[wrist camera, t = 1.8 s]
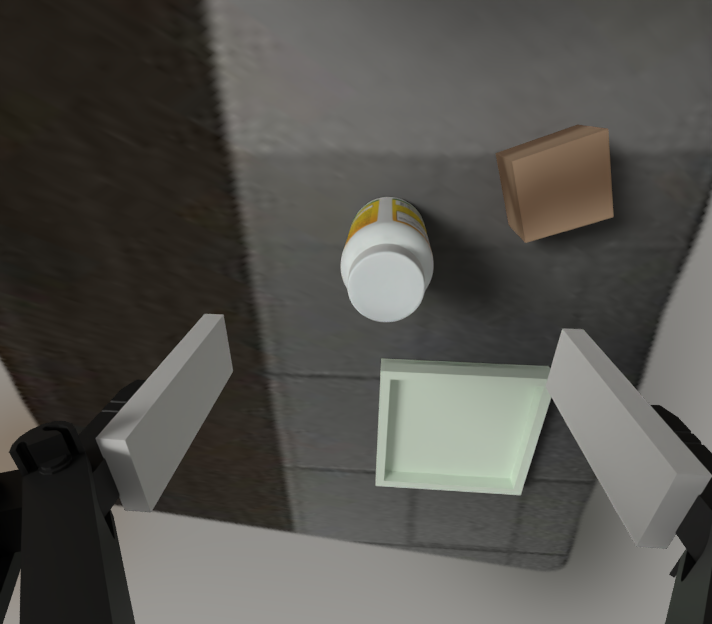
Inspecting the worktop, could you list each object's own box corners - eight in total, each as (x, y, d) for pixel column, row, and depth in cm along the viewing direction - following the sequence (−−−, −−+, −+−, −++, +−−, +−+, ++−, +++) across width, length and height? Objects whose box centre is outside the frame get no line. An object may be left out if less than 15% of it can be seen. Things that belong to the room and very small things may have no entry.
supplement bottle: (425, 193, 27) (443, 235, 18) (424, 266, 29) (439, 333, 21) (347, 197, 27) (329, 240, 19) (352, 269, 30) (339, 334, 21)
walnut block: (495, 152, 26) (511, 161, 22) (576, 124, 24) (608, 128, 21) (508, 224, 28) (525, 242, 24) (583, 201, 27) (613, 216, 23)
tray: (381, 358, 34) (380, 371, 32) (548, 366, 33) (556, 379, 31) (376, 470, 40) (375, 485, 39) (515, 479, 39) (520, 495, 38)
